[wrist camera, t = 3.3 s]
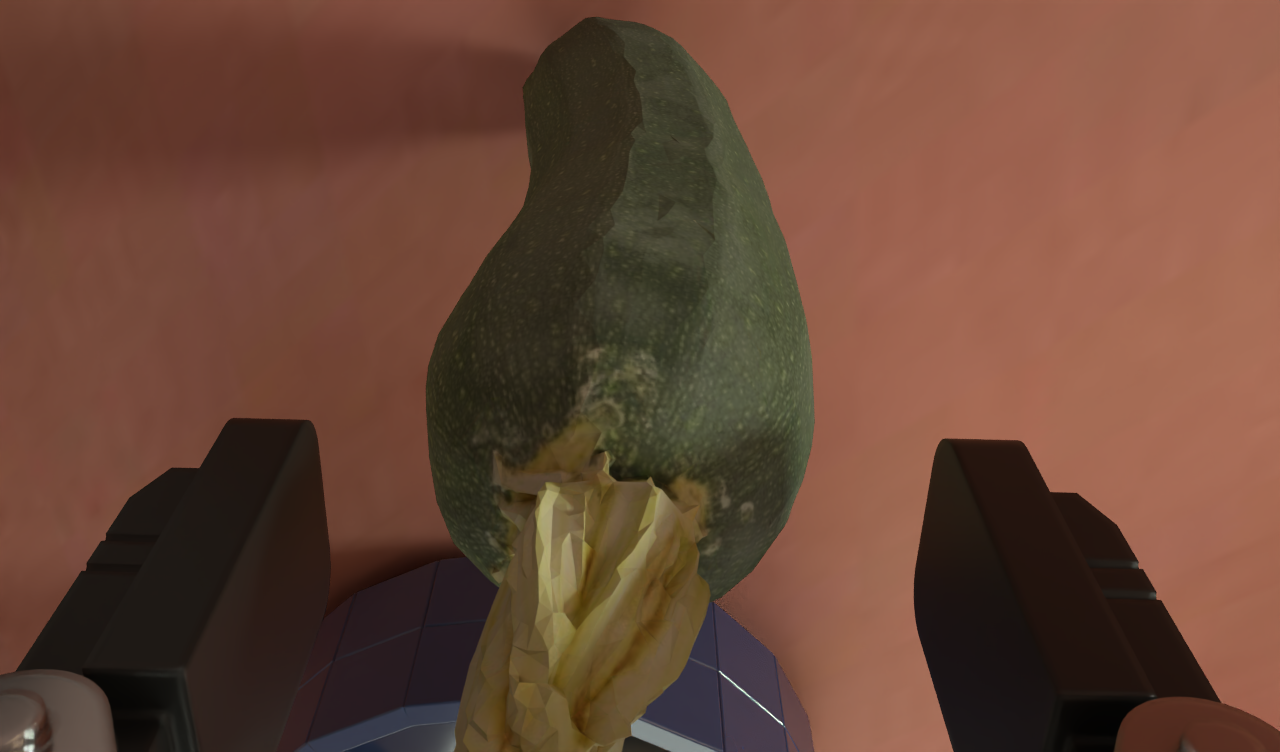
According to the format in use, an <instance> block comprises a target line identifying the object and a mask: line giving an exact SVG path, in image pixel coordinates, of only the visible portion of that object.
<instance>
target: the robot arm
mask: <svg viewBox="0 0 1280 752" xmlns="http://www.w3.org/2000/svg"><path fill="white" fill-rule="evenodd" d="M1138 563H1139V562H1138V560H1137V558H1136V557H1135V555H1134V553H1133V552H1132V550H1131V548H1130V546H1129V545H1128V543H1127V541H1126V540H1125V538H1124V536H1123V534H1122V533H1121V531H1120V529H1119V528H1118V526H1117V525H1116V524H1115V523H1114V522H1112V521H1111V520H1110V519H1109V518H1107V517H1106V516H1105V515H1104V514H1102V513H1101V512H1100V511H1099V510H1097V509H1096V508H1095V507H1094V506H1092V505H1091V504H1090V503H1089V502H1087V501H1086V500H1085V499H1084V498H1082V497H1081V496H1080V495H1079V494H1077V493H1059V492H1050V491H1049V489H1048V487H1047V485H1046V483H1045V482H1044V480H1043V478H1042V476H1041V474H1040V472H1039V470H1038V468H1037V466H1036V464H1035V462H1034V461H1033V459H1032V457H1031V455H1030V453H1029V451H1028V449H1027V447H1026V446H1025V444H1024V443H1023V442H1021V441H1018V440H981V439H942V440H941V441H940V443H939V445H938V447H937V449H936V453H935V456H934V461H933V467H932V473H931V479H930V484H929V490H928V496H927V502H926V508H925V514H924V520H923V526H922V532H921V538H920V544H919V550H918V556H917V561H916V568H915V577H914V609H915V618H916V625H917V630H918V634H919V638H920V641H921V644H922V648H923V651H924V654H925V658H926V661H927V664H928V668H929V671H930V674H931V678H932V681H933V684H934V688H935V691H936V694H937V698H938V701H939V704H940V708H941V711H942V714H943V718H944V721H945V724H946V728H947V731H948V734H949V738H950V741H951V744H952V748H953V751H954V752H1280V731H1278V730H1277V729H1276V728H1274V727H1273V726H1271V725H1269V724H1268V723H1266V722H1264V721H1262V720H1261V719H1259V718H1257V717H1255V716H1253V715H1251V714H1249V713H1247V712H1244V711H1242V710H1240V709H1237V708H1234V707H1232V706H1229V705H1226V704H1223V703H1221V702H1220V700H1219V698H1218V697H1217V695H1216V693H1215V691H1214V690H1213V688H1212V686H1211V685H1210V683H1209V681H1208V679H1207V678H1206V676H1205V674H1204V673H1203V671H1202V669H1201V668H1200V666H1199V664H1198V662H1197V661H1196V659H1195V657H1194V656H1193V654H1192V652H1191V650H1190V649H1189V647H1188V645H1187V644H1186V642H1185V640H1184V639H1183V637H1182V635H1181V633H1180V632H1179V630H1178V628H1177V627H1176V625H1175V623H1174V621H1173V620H1172V618H1171V616H1170V615H1169V613H1168V611H1167V610H1166V608H1165V606H1164V604H1163V603H1162V601H1161V600H1157V599H1156V591H1155V589H1154V587H1153V586H1152V584H1151V582H1150V581H1149V579H1148V577H1147V575H1146V574H1145V572H1144V570H1143V569H1139V568H1138ZM330 569H331V561H330V546H329V537H328V528H327V519H326V510H325V501H324V491H323V482H322V473H321V464H320V455H319V446H318V439H317V434H316V431H315V427H314V425H313V423H312V422H311V421H309V420H289V419H251V418H232V419H230V420H229V421H228V422H227V423H226V424H225V426H224V428H223V429H222V431H221V433H220V434H219V436H218V438H217V439H216V441H215V443H214V444H213V446H212V448H211V450H210V451H209V453H208V455H207V456H206V458H205V460H204V461H203V463H202V465H201V467H200V468H171V469H169V470H168V471H166V472H165V473H164V474H162V475H161V476H159V477H158V478H157V479H155V480H154V481H152V482H151V483H150V484H148V485H147V486H145V487H144V488H143V489H141V490H140V491H138V492H137V493H136V494H134V495H133V496H131V497H130V498H129V499H128V501H127V502H126V504H125V505H124V507H123V508H122V510H121V512H120V513H119V515H118V516H117V518H116V519H115V521H114V522H113V524H112V525H111V527H110V528H109V530H108V531H107V533H106V540H105V541H101V542H100V544H99V545H98V547H97V548H96V550H95V551H94V553H93V554H92V556H91V557H90V559H89V560H88V562H87V568H86V571H81V572H80V574H79V576H78V577H77V579H76V580H75V582H74V583H73V585H72V586H71V588H70V589H69V591H68V592H67V594H66V595H65V597H64V598H63V600H62V601H61V603H60V604H59V606H58V607H57V609H56V611H55V612H54V614H53V615H52V617H51V618H50V620H49V621H48V623H47V624H46V626H45V627H44V629H43V630H42V632H41V633H40V635H39V636H38V638H37V639H36V641H35V643H34V644H33V646H32V647H31V649H30V650H29V652H28V653H27V655H26V656H25V658H24V659H23V661H22V662H21V664H20V665H19V667H18V668H17V670H16V671H15V672H13V673H8V674H3V675H0V752H276V751H277V748H278V745H279V742H280V739H281V736H282V734H283V731H284V728H285V725H286V722H287V720H288V717H289V714H290V711H291V708H292V705H293V703H294V700H295V697H296V694H297V691H298V688H299V686H300V683H301V680H302V677H303V674H304V672H305V669H306V666H307V663H308V660H309V657H310V655H311V652H312V649H313V646H314V643H315V640H316V638H317V635H318V632H319V629H320V626H321V623H322V621H323V618H324V614H325V610H326V606H327V601H328V594H329V586H330Z"/></svg>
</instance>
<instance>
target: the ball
mask: <svg viewBox="0 0 1280 752" xmlns="http://www.w3.org/2000/svg"><path fill="white" fill-rule="evenodd" d="M622 752H669V751H667V750H664V749H662V748H659V747H657V746H654V745H652V744H650V743H647V742H645V741H642V740H640V739H637V738H635V737H632V736H629V737H627V738H625V740H624V745H623V749H622Z"/></svg>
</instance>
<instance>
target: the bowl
mask: <svg viewBox="0 0 1280 752" xmlns="http://www.w3.org/2000/svg"><path fill="white" fill-rule="evenodd" d="M498 590H499V587H498V586H496V585H495V584H494V583H492V582H491V581H490V580H489V579H488V578H487V577H486V576H485V575H484V574H483V573H482V572H481V571H480V570H479V569H478V568H477V567H476V566H475V565H474V564H473V563H472V562H471V561H470V560H469V559H468V558H467V557H459V558H450V559H441V560H439V561H434V562H431V563H429V564H426V565H424V566H421V567H419V568H416V569H414V570H411V571H409V572H406V573H404V574H401V575H399V576H396V577H394V578H391V579H389V580H386V581H384V582H381V583H378V584H376V585H373V586H371V587H368V588H366V589H363V590H361V591H358V592H357V593H354V594H353V595H352V596H350V597H349V598H348V599H347V600H346V601H344V602H343V603H342V604H341V605H340V606H339V607H337V608H336V609H335V610H334V611H333V612H331V613H330V614H329V615H328V616H327V617H325V618H324V619H323V621H322V623H321V626H320V629H319V632H318V635H317V638H316V640H315V643H314V646H313V649H312V652H311V655H310V657H309V660H308V663H307V666H306V669H305V672H304V674H303V677H302V680H301V683H300V686H299V688H298V691H297V694H296V697H295V700H294V703H293V705H292V708H291V711H290V714H289V717H288V720H287V722H286V725H285V728H284V731H283V734H282V736H281V739H280V742H279V745H278V748H277V751H276V752H454V749H455V746H456V739H455V727H456V722H457V717H458V712H459V707H460V702H461V698H462V694H463V690H464V686H465V682H466V678H467V674H468V669H469V665H470V663H471V660H472V658H473V655H474V653H475V651H476V648H477V645H478V642H479V640H480V637H481V634H482V631H483V629H484V626H485V623H486V620H487V617H488V615H489V612H490V610H491V607H492V605H493V602H494V600H495V597H496V595H497V592H498ZM631 732H632V737H635V738H637V739H640V740H642V741H645V742H647V743H650V744H652V745H654V746H657V747H659V748H662V749H664V750H667V751H669V752H814V747H813V741H812V735H811V729H810V723H809V720H808V716H807V714H806V712H805V710H804V708H803V706H802V705H801V703H800V701H799V699H798V697H797V695H796V693H795V692H794V690H793V688H792V686H791V684H790V682H789V681H788V679H787V677H786V675H785V673H784V671H783V670H782V668H781V666H780V664H779V662H778V660H777V659H776V657H775V656H774V655H773V653H772V652H771V651H770V650H768V649H767V648H766V647H765V646H764V645H763V644H761V643H760V642H759V641H758V640H757V639H756V638H755V637H753V636H752V635H751V634H750V633H749V632H748V631H747V630H745V629H744V628H743V627H742V626H741V625H740V624H738V623H737V622H736V621H735V620H734V619H733V618H732V617H730V616H729V615H728V614H727V613H726V612H725V611H724V610H722V609H721V608H720V607H719V606H718V605H717V604H715V603H714V602H711V603H709V604H708V608H707V612H706V617H705V619H704V621H703V624H702V626H701V628H700V631H699V633H698V635H697V638H696V640H695V642H694V645H693V647H692V650H691V653H690V655H689V658H688V661H687V663H686V665H685V667H684V669H683V671H682V672H681V674H680V676H679V678H678V679H677V680H676V681H675V682H673V683H672V684H671V685H670V686H669V687H668V688H667V689H665V690H664V691H663V694H661V695H660V696H659V697H658V698H656V699H655V700H654V701H653V702H652V703H650V704H649V705H648V706H647V708H646V712H645V714H644V715H642V716H641V717H640V718H639V719H638V720H636V721H635V722H634V723H633V724H632V725H631Z"/></svg>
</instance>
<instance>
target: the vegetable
mask: <svg viewBox="0 0 1280 752" xmlns="http://www.w3.org/2000/svg"><path fill="white" fill-rule="evenodd" d="M523 99H524V108H525V125H526V135H527V145H528V155H529V161H530V166H531V175H530V182H529V188H528V191H527V195H526V199H525V202H524V206H523V208H522V209H521V211H520V212H519V214H518V216H517V217H516V218H515V220H514V221H513V223H512V224H511V225H510V227H509V228H508V229H507V231H506V232H505V233H504V234H503V236H502V237H501V238H500V239H499V241H498V242H497V243H496V244H495V246H494V247H493V248H492V250H491V251H490V252H489V253H488V255H487V256H486V258H485V260H484V261H483V263H482V265H481V266H480V268H479V270H478V271H477V273H476V274H475V276H474V278H473V279H472V281H471V283H470V284H469V286H468V287H467V289H466V290H465V292H464V293H463V295H462V296H461V298H460V300H459V301H458V303H457V305H456V306H455V308H454V310H453V311H452V313H451V314H450V316H449V318H448V319H447V321H446V323H445V324H444V326H443V328H442V329H441V331H440V333H439V334H438V337H437V340H436V344H435V347H434V350H433V353H432V356H431V359H430V362H429V366H428V374H427V383H426V413H427V429H428V445H429V458H430V464H431V470H432V476H433V482H434V488H435V494H436V500H437V503H438V506H439V508H440V511H441V513H442V516H443V518H444V521H445V523H446V526H447V528H448V531H449V533H450V535H451V538H452V540H453V542H454V544H455V545H456V546H457V547H458V548H459V549H460V550H461V551H462V552H463V553H464V554H465V555H466V557H467V558H468V559H469V560H470V561H471V562H472V563H473V564H474V565H475V566H476V567H477V568H478V569H479V570H480V571H481V572H482V573H483V574H484V575H485V576H486V577H487V578H488V579H489V580H490V581H491V582H492V583H494V584H495V585H496V586H498V587H499V590H498V592H497V595H496V597H495V600H494V602H493V605H492V607H491V610H490V612H489V615H488V617H487V620H486V623H485V626H484V629H483V631H482V634H481V637H480V640H479V642H478V645H477V648H476V651H475V653H474V655H473V658H472V660H471V663H470V665H469V669H468V674H467V678H466V682H465V686H464V690H463V694H462V698H461V702H460V707H459V712H458V717H457V722H456V727H455V739H456V746H455V749H454V752H622V749H623V745H624V740H625V738H627V737H629V736H632V732H631V725H632V724H633V723H634V722H635V721H636V720H638V719H639V718H640V717H641V716H642V715H644V714H645V712H646V708H647V706H648V705H649V704H650V703H652V702H653V701H654V700H655V699H656V698H658V697H659V696H660V695H661V694H663V691H664V690H665V689H667V688H668V687H669V686H670V685H671V684H672V683H673V682H675V681H676V680H677V679H678V678H679V676H680V674H681V672H682V671H683V669H684V667H685V665H686V663H687V661H688V658H689V655H690V653H691V650H692V647H693V645H694V642H695V640H696V638H697V635H698V633H699V631H700V628H701V626H702V624H703V621H704V619H705V617H706V612H707V608H708V604H709V603H711V602H713V601H715V600H717V599H719V598H721V597H722V596H723V595H725V594H726V593H727V592H728V591H729V590H731V589H732V588H733V587H734V586H735V585H736V584H738V583H739V582H740V581H741V580H742V579H743V578H745V577H746V576H747V575H748V574H749V573H751V572H752V571H753V569H754V568H755V567H756V565H757V564H758V563H759V561H760V560H761V558H762V557H763V556H764V554H765V553H766V551H767V550H768V548H769V547H770V546H771V544H772V543H773V541H774V540H775V539H776V537H777V536H778V534H779V533H780V532H781V530H782V529H783V528H784V526H785V524H786V522H787V520H788V518H789V515H790V511H791V508H792V505H793V503H794V500H795V498H796V495H797V493H798V491H799V488H800V486H801V483H802V481H803V478H804V474H805V470H806V466H807V462H808V459H809V455H810V451H811V447H812V439H813V431H814V423H815V419H814V396H813V373H812V356H811V349H810V341H809V334H808V328H807V322H806V317H805V313H804V309H803V305H802V301H801V297H800V293H799V289H798V285H797V282H796V278H795V274H794V270H793V267H792V263H791V259H790V256H789V252H788V248H787V245H786V242H785V239H784V237H783V234H782V232H781V230H780V228H779V225H778V223H777V221H776V219H775V217H774V215H773V212H772V208H771V204H770V200H769V197H768V194H767V191H766V189H765V186H764V183H763V180H762V178H761V176H760V174H759V171H758V169H757V167H756V165H755V163H754V161H753V159H752V157H751V155H750V152H749V150H748V148H747V146H746V143H745V141H744V139H743V137H742V135H741V133H740V131H739V129H738V127H737V125H736V123H735V121H734V119H733V116H732V114H731V111H730V108H729V106H728V103H727V100H726V99H725V97H724V96H723V95H722V93H721V92H720V90H719V89H718V87H717V86H716V85H715V84H714V82H713V81H712V80H711V79H710V78H709V76H708V75H707V74H706V73H705V71H704V70H703V69H702V68H701V67H700V66H699V65H698V64H697V63H696V61H695V60H694V59H693V58H692V57H691V56H690V55H689V54H688V53H687V52H686V50H685V49H684V48H683V47H682V46H681V45H680V44H678V43H677V42H676V41H675V40H674V39H673V38H671V37H669V36H667V35H665V34H663V33H661V32H660V31H658V30H656V29H654V28H651V27H649V26H646V25H644V24H640V23H636V22H629V21H620V20H612V19H605V18H600V17H591V18H585V19H584V20H582V21H581V22H579V23H578V24H577V25H575V26H574V27H573V28H572V29H570V30H569V31H568V32H566V33H565V34H564V35H563V36H561V37H560V38H558V39H557V40H556V41H554V42H553V43H551V44H550V45H549V46H548V47H547V48H546V49H545V51H544V52H543V53H542V55H541V56H540V58H539V61H538V63H537V65H536V67H535V69H534V71H533V72H532V74H531V75H530V76H529V77H528V78H527V80H526V82H525V84H524V86H523Z"/></svg>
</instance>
